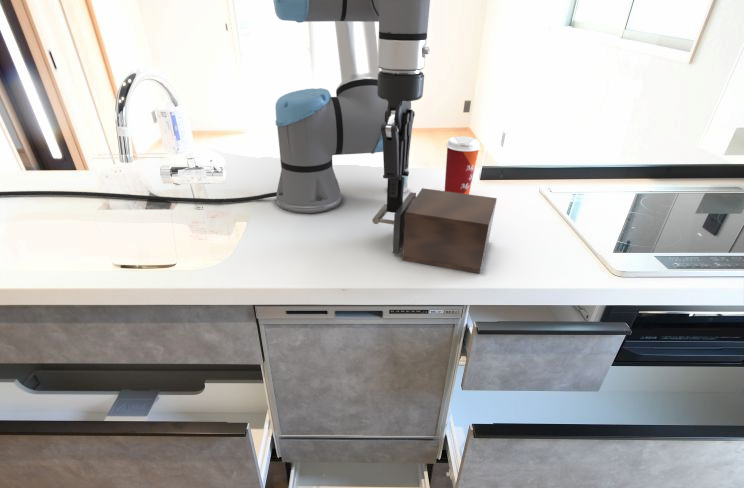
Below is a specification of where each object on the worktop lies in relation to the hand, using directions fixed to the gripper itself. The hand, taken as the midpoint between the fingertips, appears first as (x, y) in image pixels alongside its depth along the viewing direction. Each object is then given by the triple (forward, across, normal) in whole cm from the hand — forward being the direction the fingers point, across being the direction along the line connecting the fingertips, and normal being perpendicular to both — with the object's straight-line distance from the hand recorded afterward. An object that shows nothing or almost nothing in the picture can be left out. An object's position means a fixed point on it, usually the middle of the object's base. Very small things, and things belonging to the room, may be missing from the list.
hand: (394, 211), depth 86 cm
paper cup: (+7, +27, -8) cm, 29 cm away
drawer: (+6, 0, -6) cm, 8 cm away
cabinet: (+7, 0, -11) cm, 13 cm away
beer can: (+7, +28, +7) cm, 30 cm away
